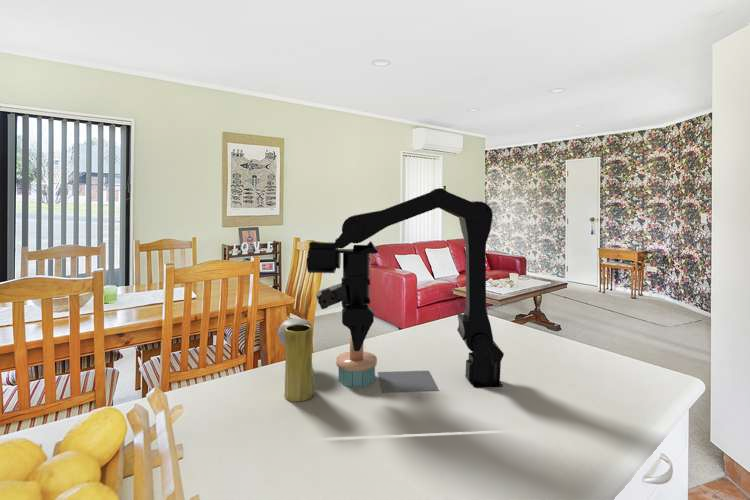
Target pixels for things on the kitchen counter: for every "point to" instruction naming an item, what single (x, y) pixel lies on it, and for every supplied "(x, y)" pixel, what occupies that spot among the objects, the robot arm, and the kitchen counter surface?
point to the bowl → (356, 377)
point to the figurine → (287, 323)
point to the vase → (298, 363)
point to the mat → (406, 381)
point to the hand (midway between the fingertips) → (356, 343)
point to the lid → (356, 360)
